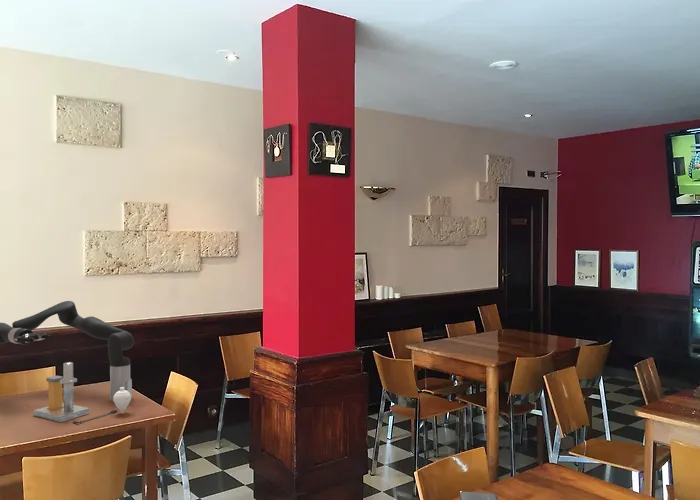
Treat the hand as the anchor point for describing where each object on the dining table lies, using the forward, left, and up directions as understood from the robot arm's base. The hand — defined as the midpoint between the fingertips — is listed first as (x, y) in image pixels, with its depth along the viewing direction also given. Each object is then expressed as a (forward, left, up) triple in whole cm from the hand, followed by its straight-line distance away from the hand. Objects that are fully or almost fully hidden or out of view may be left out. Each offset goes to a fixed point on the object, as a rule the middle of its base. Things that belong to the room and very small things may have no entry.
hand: (41, 338), depth 278 cm
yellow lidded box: (-11, +12, -32) cm, 36 cm away
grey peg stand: (-15, +14, -32) cm, 38 cm away
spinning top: (-42, +13, -32) cm, 54 cm away
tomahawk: (-34, +19, -33) cm, 50 cm away
